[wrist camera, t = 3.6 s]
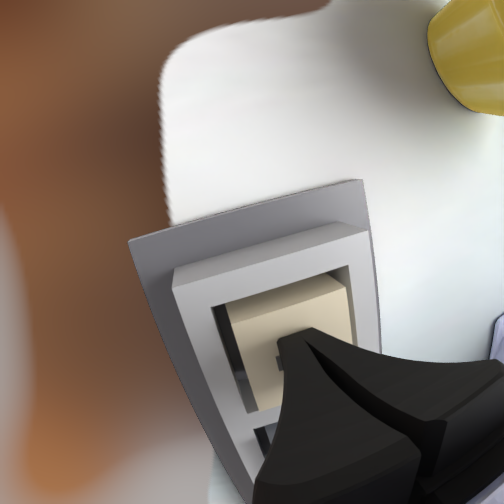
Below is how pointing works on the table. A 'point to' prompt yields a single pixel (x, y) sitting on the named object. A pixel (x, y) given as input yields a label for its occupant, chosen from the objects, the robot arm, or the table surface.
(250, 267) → the keypad board
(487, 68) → the plant pot
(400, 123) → the table surface
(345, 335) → the block
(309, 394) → the robot arm
